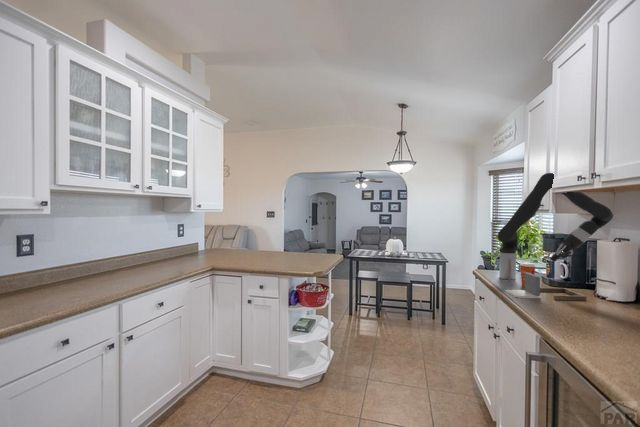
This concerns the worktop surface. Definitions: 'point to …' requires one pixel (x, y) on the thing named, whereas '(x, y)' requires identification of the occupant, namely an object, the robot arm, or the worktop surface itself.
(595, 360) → the worktop surface
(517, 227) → the robot arm
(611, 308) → the worktop surface
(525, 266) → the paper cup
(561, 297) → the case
